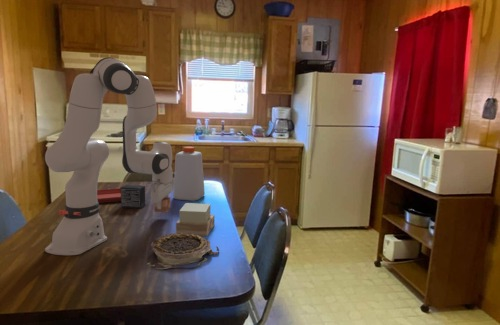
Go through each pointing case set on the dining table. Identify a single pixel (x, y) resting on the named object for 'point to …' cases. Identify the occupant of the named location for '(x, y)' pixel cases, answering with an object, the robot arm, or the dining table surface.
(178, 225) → the lower slab
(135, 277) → the dining table surface
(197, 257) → the pie
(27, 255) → the dining table surface
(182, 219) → the upper slab
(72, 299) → the dining table surface
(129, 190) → the small box
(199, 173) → the plastic bottle
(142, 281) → the dining table surface
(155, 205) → the terracotta cube
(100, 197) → the plant saucer
